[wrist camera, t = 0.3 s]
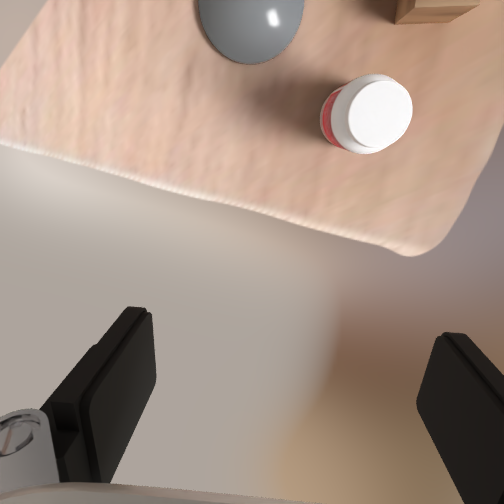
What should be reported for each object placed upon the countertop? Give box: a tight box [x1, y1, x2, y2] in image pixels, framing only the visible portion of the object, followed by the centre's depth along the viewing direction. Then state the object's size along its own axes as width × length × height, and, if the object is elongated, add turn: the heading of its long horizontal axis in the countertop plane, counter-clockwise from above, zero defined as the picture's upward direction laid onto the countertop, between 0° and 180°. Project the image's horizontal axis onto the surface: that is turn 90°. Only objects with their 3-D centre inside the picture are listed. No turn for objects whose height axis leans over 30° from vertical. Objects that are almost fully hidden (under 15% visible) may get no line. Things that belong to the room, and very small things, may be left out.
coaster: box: [198, 0, 304, 64], centre depth 31 cm, size 10×10×1 cm
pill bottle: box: [320, 74, 412, 154], centre depth 29 cm, size 6×6×11 cm
